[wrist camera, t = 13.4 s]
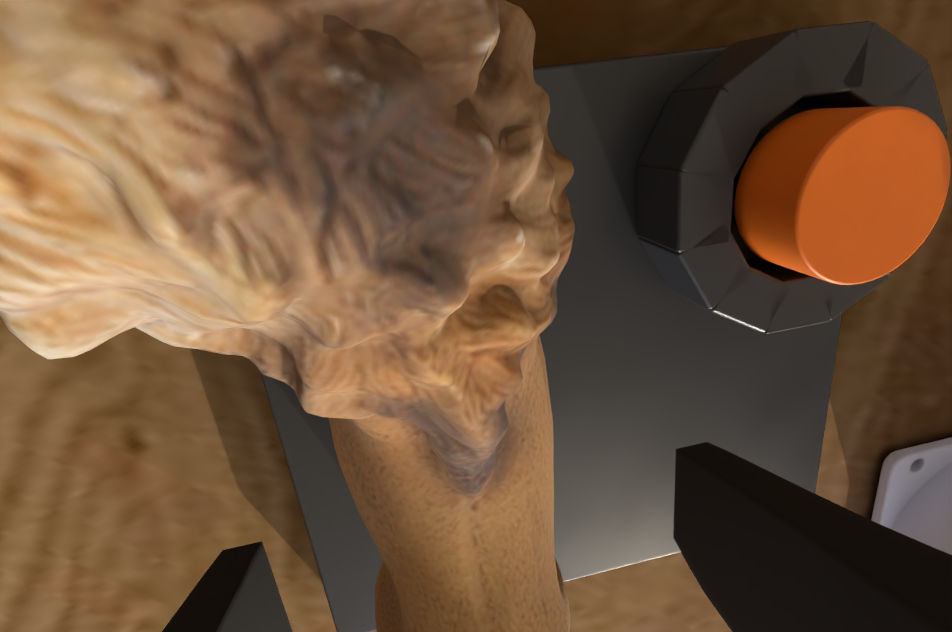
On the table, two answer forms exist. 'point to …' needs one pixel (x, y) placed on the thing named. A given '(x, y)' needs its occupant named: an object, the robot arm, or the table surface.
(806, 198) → the button
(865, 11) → the table surface
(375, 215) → the lion figurine
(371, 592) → the scale
